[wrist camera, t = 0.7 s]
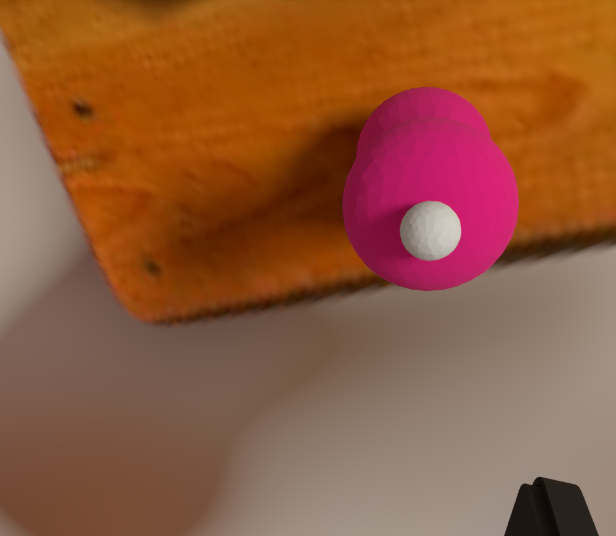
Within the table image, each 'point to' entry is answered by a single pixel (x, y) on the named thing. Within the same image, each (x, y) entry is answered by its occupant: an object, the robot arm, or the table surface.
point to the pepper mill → (429, 192)
